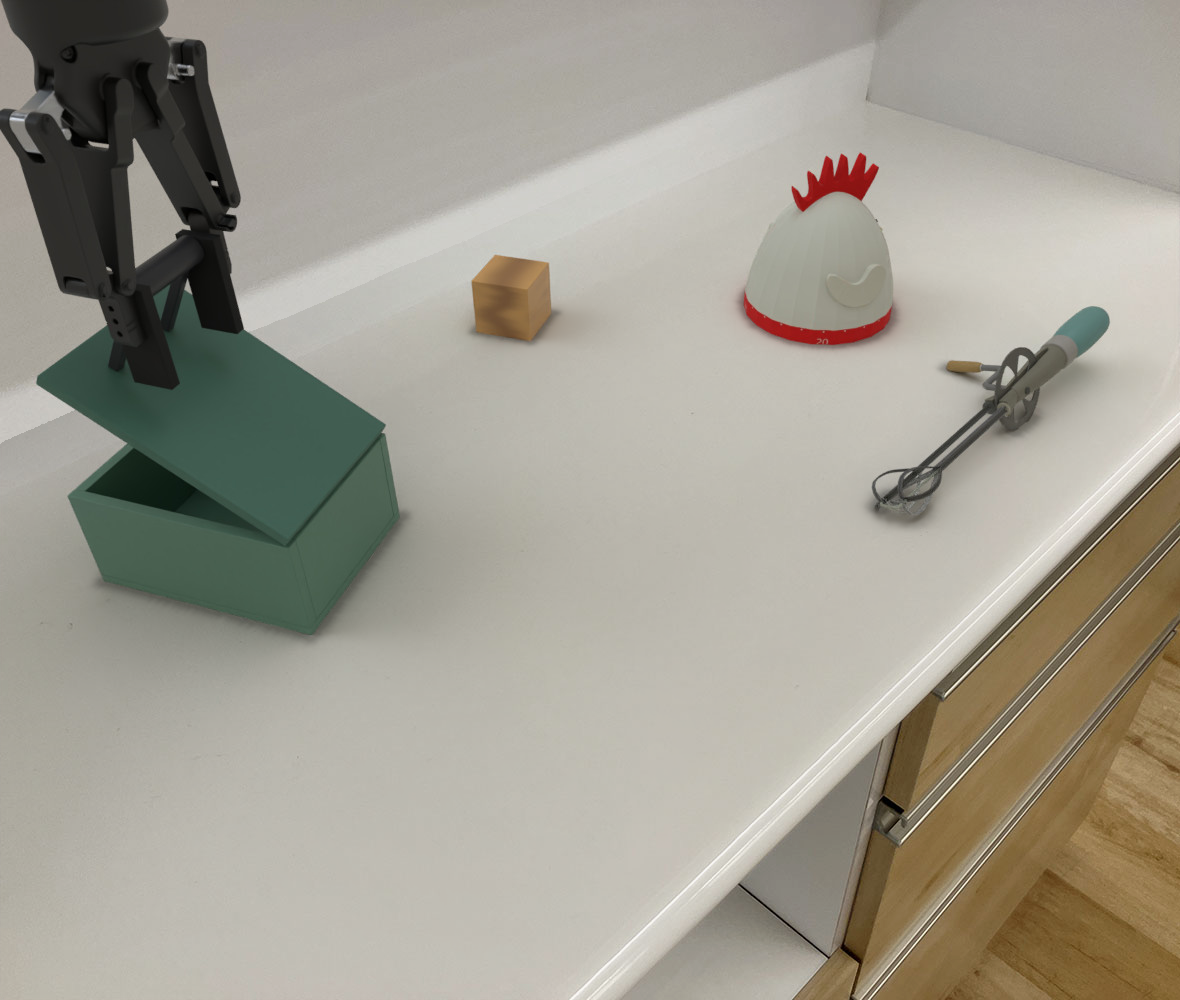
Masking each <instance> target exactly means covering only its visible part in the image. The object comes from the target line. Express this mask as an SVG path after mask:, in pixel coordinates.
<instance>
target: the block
mask: <svg viewBox="0 0 1180 1000" xmlns="http://www.w3.org/2000/svg"><path fill="white" fill-rule="evenodd" d="M550 272H551V271H550V262H548V261H541V260H534V259H527V258H521V257H514V256H508V255H507V256H506V255H499V254H494V255H493V256H492V257H491V258H490V259H489V261H488V262H487V263H486V264H485V265H484V266H483V267H482V268H481V270H480V271H478V273H477V274H476V275H475V276H474V277H473V278H472V279H471V281H470V282H471V291H472V303H473V310H474V312H473V313H474V323H475V332H476V333H479V334H485V335H490V336H497V337H502V338H509V339H515V340H521V341H527V342H531V341H532V340H534V337H535V336H536V335H537V334H538V332H539V331H540V329H541V328H542V327H543V325H544V324H545V323H546V322H547V320H548V319H549V317H550V316H551V315H552V297H551V296H552V295H551V274H550Z"/></svg>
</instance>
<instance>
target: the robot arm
mask: <svg viewBox="0 0 1180 1000" xmlns="http://www.w3.org/2000/svg"><path fill="white" fill-rule="evenodd" d="M0 3H1V6H2V8H3V11H4V13H5V14H4V15H5V17H6V20H7V22H8V25H9V28H10V30H11V31H12V33H13V34H14V36H16V37H17V38H18V39H19V40H20V41H21V42H22V43H23V45H24V46H25V47H26V48H27V49H28V51H29V52H30V54H31V56H32V60H33V61H32V62H33V69H34V71H33V85H34V89H35V93H34V94H33V96H31V98H29V99H28V101H26V103H25V104H24V105H23V106H22V107H20V108H19V109H14V108H2V109H0V132H1V134H2V135H3V136H4V138H5V139H6V141H7V143H8V144H9V146H10V147H11V149H12V150H13V151H14V154H15V155H16V157H17V158H18V161H19V164H20V168H21V170H22V174H23V176H24V181H25V184H26V187H27V189H28V194H29V197H30V200H31V202H32V206H33V209H34V212H35V215H36V219H37V221H38V222H37V223H38V225H39V229H40V231H41V232H40V233H41V235H42V238H43V241H44V244H45V249H46V251H47V254H48V257H49V261H50V264H51V266H52V270H53V274H54V277H55V280H56V283H57V287H58V289H59V291H60V292H61V293H62V294H64V295H70V296H74V297H79V298H80V297H81V298H86V299H89V300H90V299H91V300H97V301H98V303H99V306H100V309H101V311H102V315H103V318H104V321H105V322H106V325H107V326H108V328H109V332H110V335H111V338H112V339H113V340H114V341H115V342H116V343H117V344H122V347H123V350H124V353H125V356H126V359H127V362H128V365H129V368H130V370H131V373H132V376H133V379H134V382H136V383H140V384H145V385H150V386H155V387H160V388H165V389H170V390H173V389H174V388H175V387H176V386H178V385H179V384H180V382H179V378H178V375H177V372H176V369H175V366H174V362H173V359H172V356H171V353H170V350H169V346H168V343H167V340H166V337H165V333H164V330H163V327H162V324H161V321H160V317H159V314H158V311H157V308H156V305H155V301H154V298H153V295H152V292H151V289H150V286H149V285H143V284H137V283H136V271H135V268H136V262H135V247H134V235H133V223H132V212H131V211H132V209H131V199H130V187H129V186H130V185H129V175H128V174H129V173H128V168H129V167H130V166H131V165H133V163H134V161H135V152H134V139H135V141H136V143H137V144H138V146H139V148H140V149H141V151H142V153H143V155H144V157H145V159H146V160H147V162H148V164H149V166H150V167H151V169H152V171H153V173H154V174H155V176H156V178H157V180H158V182H159V183H160V185H161V187H162V188H163V191H164V192H165V194H166V195H167V198H168V199H169V201H170V203H171V205H172V206H173V208H174V211H175V212H176V214H177V215H178V218H179V219H180V220H181V222H182V224H183V225H185V226H189V229H186V228H182V229H181V230H179V231H177V232H176V233H175V234H174V235H175V240H177V239H178V238H180V237H181V236H184V235H188V236H191V237H193V238H195V239H196V240H197V241H198V242H199V243H200V244H201V246H202V248H203V250H204V258H203V260H202V261H201V262H200V263H198V264H197V265H196V266H194V267H193V268H192V269H190V271H189V275H188V279H187V282H188V285H189V289H190V292H191V294H192V296H193V299H194V303H195V306H196V310H197V313H198V317H199V320H200V324H201V327H202V328H206V329H211V330H216V331H222V332H227V333H233V334H238V333H240V332H241V331H242V330H243V329H244V330H245V326H244V323H243V320H242V315H241V311H240V308H239V303H238V300H237V295H236V291H235V288H234V284H233V279H232V276H231V274H232V273H233V272H232V271H233V267H232V265H233V264H232V261H231V257H230V252H229V247H228V246H227V241H226V236H225V233H224V232H227V233H233V232H235V230H236V228H237V225H238V218H237V215H236V214H232V213H231V214H229V213H228V212H229V210H230V209H237V208H239V206H240V204H241V199H242V196H241V192H240V188H239V183H238V181H237V177H236V174H235V171H234V167H233V163H232V160H231V155H230V153H229V149H228V146H227V143H226V139H225V135H224V132H223V128H222V125H221V121H220V117H219V115H218V111H217V107H216V104H215V101H214V96H213V94H212V90H211V87H210V86H211V85H210V82H209V67H208V51H207V47H206V44H205V43H204V42H203V40H201V39H194V38H193V39H192V38H183V37H173V36H165V34H164V33H163V32H162V30H161V27H162V26H163V25H164V24H165V22H166V21H167V19H168V17H169V11H170V10H169V6H168V2H167V0H0ZM91 143H95V144H101V145H107V146H108V147H103V146H96V145H92V144H91ZM212 182H216V183H217V185H215V184H213V183H212ZM108 269H109V270H108Z"/></svg>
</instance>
